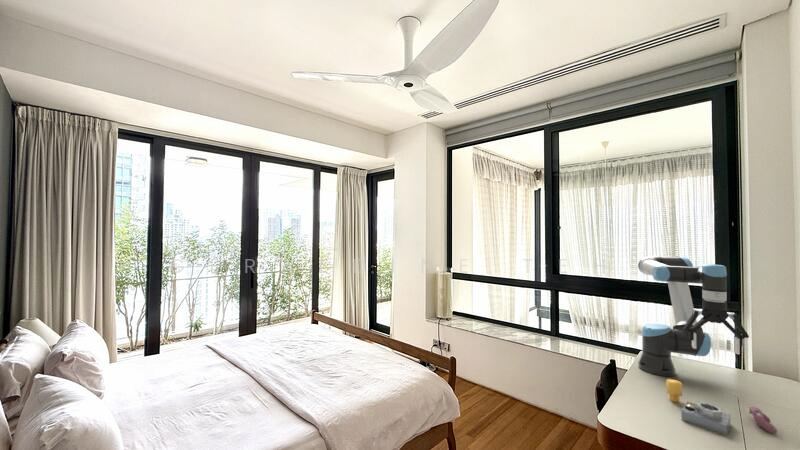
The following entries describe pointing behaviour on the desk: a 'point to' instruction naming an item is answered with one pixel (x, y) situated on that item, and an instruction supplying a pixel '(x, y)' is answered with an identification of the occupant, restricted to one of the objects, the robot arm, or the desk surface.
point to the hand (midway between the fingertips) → (715, 350)
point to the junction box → (706, 417)
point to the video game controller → (761, 419)
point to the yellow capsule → (674, 389)
